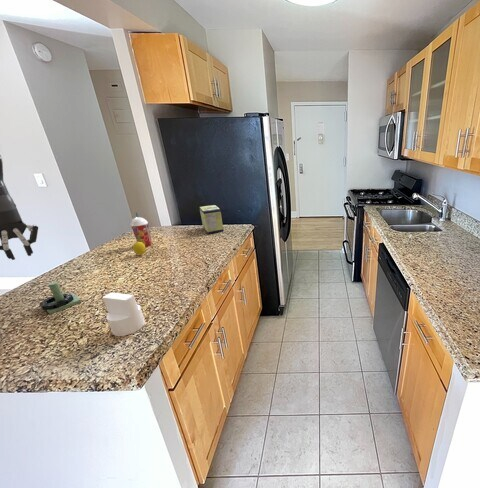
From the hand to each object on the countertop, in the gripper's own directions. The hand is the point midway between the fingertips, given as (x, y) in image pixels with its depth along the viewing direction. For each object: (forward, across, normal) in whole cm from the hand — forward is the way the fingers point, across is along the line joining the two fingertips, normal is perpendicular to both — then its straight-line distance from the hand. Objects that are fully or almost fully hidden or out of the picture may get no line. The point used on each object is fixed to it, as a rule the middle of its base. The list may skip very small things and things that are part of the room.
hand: (21, 257), depth 90 cm
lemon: (+20, -42, -20) cm, 51 cm away
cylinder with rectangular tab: (+20, -12, +40) cm, 47 cm away
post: (+20, -4, +4) cm, 21 cm away
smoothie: (+20, -50, -33) cm, 63 cm away
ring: (+19, -3, +5) cm, 20 cm away
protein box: (+20, -89, -25) cm, 95 cm away
